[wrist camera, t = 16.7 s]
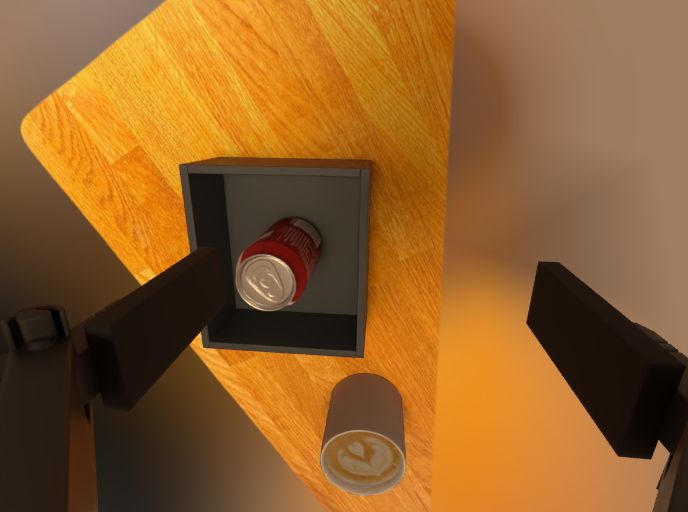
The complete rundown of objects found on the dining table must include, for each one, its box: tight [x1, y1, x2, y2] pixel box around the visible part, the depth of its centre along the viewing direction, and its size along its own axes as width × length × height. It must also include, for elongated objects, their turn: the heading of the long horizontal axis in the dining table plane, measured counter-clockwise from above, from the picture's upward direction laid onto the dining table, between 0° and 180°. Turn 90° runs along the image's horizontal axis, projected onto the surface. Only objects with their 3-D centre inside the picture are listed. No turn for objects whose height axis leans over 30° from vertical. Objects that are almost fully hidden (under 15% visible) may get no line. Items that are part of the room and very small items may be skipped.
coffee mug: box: [320, 374, 406, 496], centre depth 48 cm, size 13×10×10 cm
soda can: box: [235, 217, 322, 311], centre depth 39 cm, size 7×7×12 cm
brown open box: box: [179, 157, 372, 358], centre depth 41 cm, size 18×20×9 cm
